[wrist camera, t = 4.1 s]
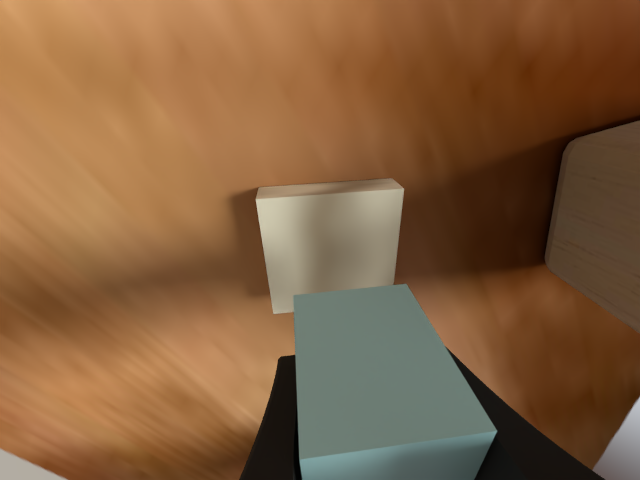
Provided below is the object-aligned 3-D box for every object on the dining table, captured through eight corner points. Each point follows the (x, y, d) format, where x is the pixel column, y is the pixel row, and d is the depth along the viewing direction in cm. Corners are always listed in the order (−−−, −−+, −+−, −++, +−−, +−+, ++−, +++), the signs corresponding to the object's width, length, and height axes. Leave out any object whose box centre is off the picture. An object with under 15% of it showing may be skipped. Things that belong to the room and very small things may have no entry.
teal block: (406, 283, 11) (497, 430, 6) (396, 360, 13) (458, 512, 9) (293, 295, 11) (299, 459, 6) (301, 371, 13) (310, 537, 8)
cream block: (392, 178, 17) (404, 188, 15) (382, 284, 21) (391, 302, 19) (258, 187, 17) (255, 199, 15) (274, 294, 20) (273, 314, 19)
